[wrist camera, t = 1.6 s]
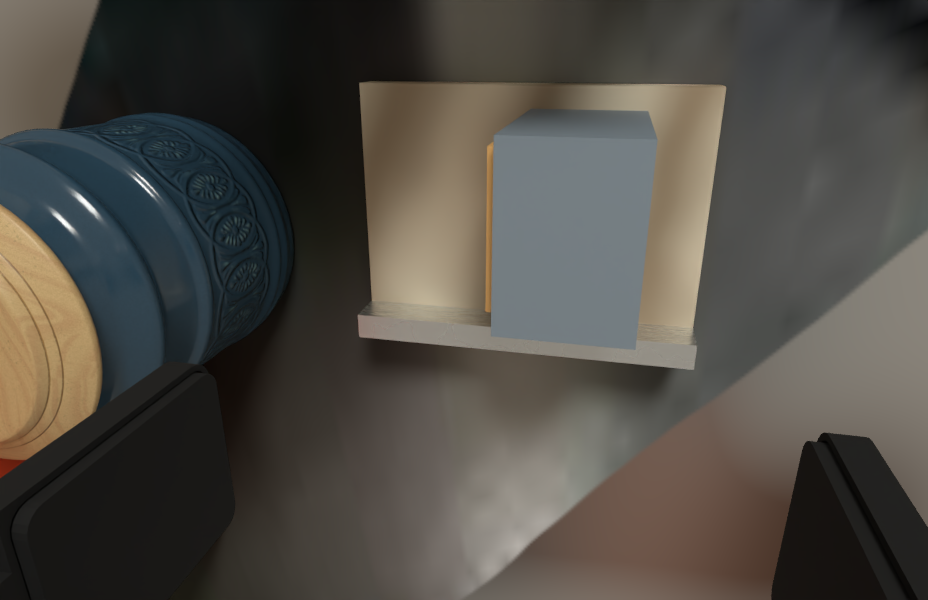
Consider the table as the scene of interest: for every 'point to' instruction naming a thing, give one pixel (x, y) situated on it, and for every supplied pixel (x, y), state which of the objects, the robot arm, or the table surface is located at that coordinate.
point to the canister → (126, 262)
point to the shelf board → (465, 204)
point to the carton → (569, 225)
